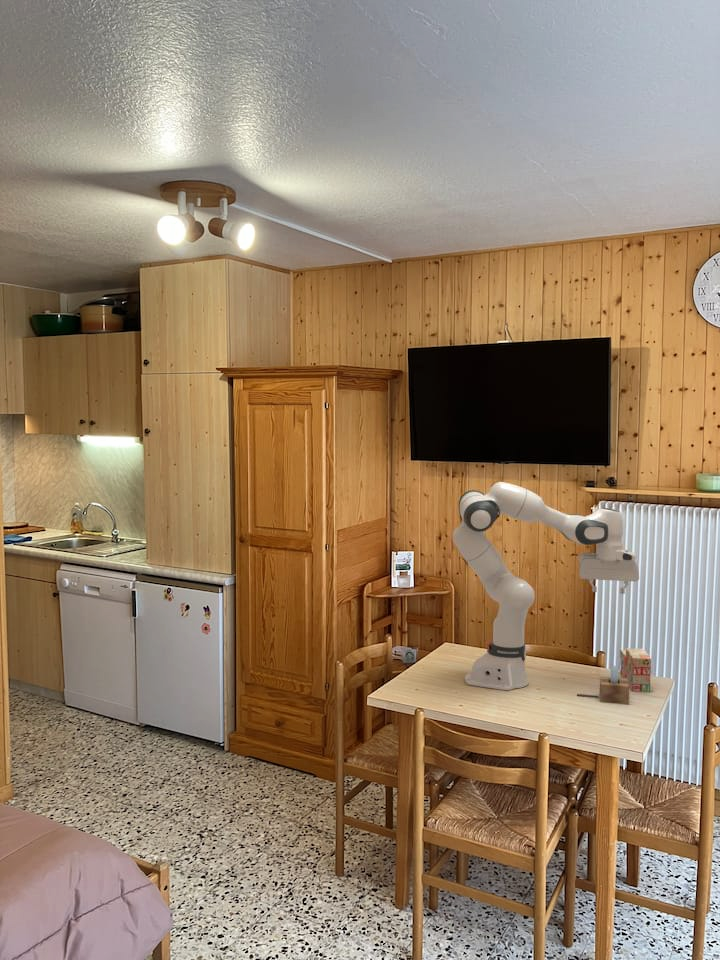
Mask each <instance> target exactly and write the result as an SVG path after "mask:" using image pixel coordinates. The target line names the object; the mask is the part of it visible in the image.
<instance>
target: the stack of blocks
mask: <svg viewBox="0 0 720 960" xmlns="http://www.w3.org/2000/svg"><path fill="white" fill-rule="evenodd" d="M619 650H620V653H619V655H620V656H619V658H620V661H619V662H620V671H619V672H620V675H621V678H627V680H628V684H629V687H630V688H629V690H630V691H631V692H634V693H635V692H636V693H651V676H652V658H651V657H650V655H649V653H647V651H646V650H645V649H643V648H627V647H626V648H625V649H619Z"/></svg>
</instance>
